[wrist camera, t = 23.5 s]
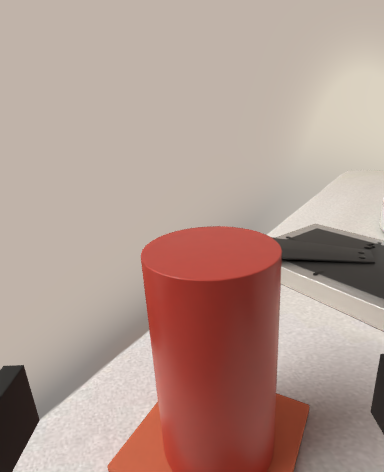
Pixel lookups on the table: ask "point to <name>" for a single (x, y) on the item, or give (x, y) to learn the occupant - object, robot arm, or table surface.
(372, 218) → the table surface
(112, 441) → the table surface
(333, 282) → the picture frame
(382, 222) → the planter
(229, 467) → the red tin
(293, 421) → the terracotta mat
